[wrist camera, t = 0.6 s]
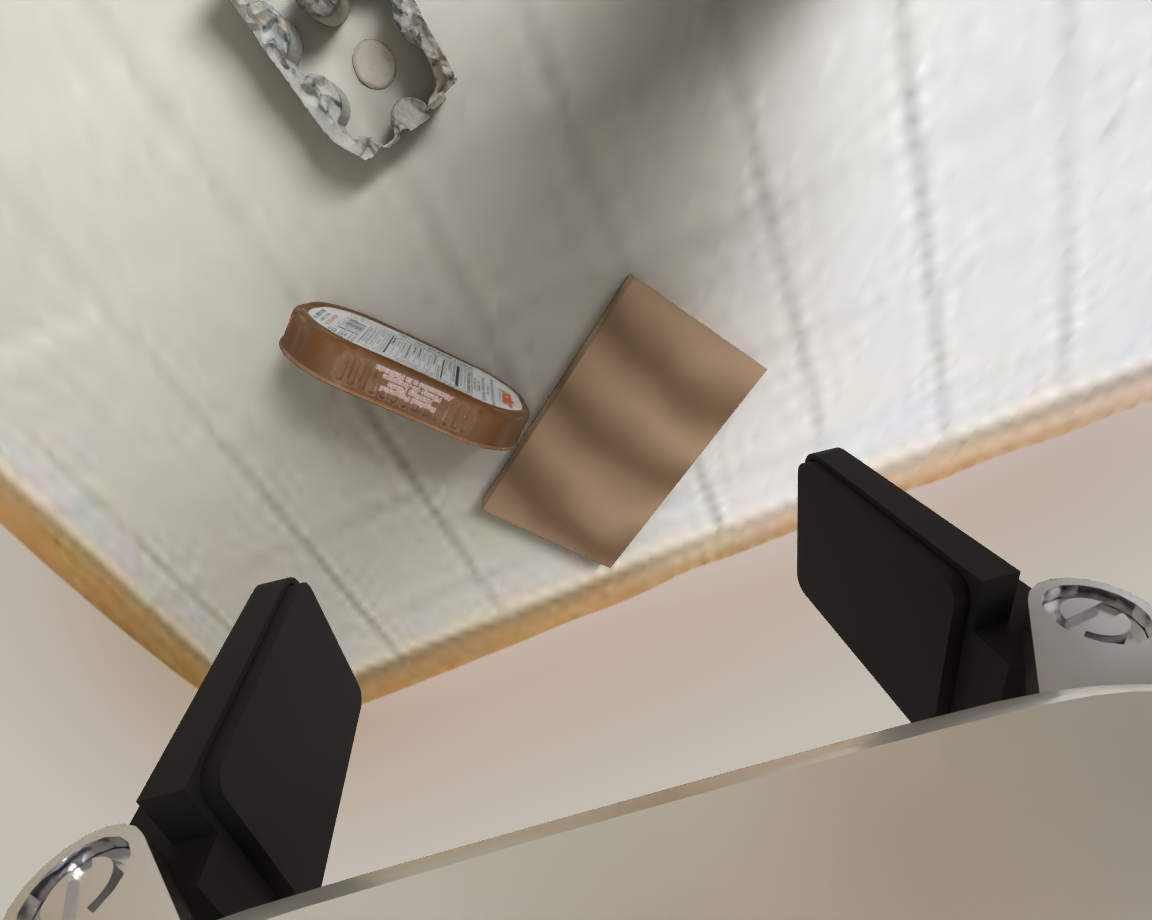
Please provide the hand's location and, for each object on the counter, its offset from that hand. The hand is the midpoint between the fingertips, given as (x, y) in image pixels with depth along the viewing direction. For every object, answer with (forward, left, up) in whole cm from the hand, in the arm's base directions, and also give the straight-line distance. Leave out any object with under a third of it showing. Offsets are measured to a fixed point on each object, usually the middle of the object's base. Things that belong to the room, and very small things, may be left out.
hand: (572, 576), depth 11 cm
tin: (+7, -3, -30) cm, 31 cm away
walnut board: (+5, +12, -30) cm, 33 cm away
